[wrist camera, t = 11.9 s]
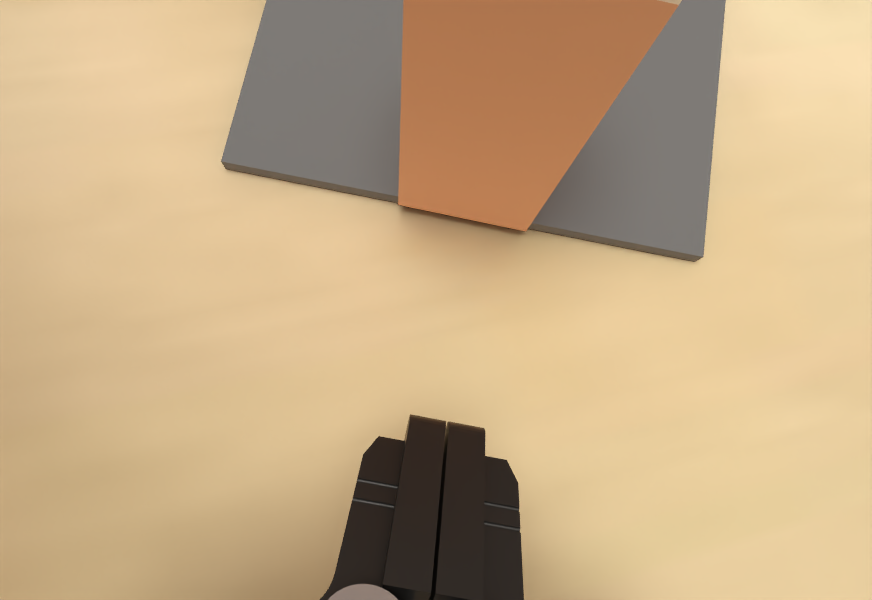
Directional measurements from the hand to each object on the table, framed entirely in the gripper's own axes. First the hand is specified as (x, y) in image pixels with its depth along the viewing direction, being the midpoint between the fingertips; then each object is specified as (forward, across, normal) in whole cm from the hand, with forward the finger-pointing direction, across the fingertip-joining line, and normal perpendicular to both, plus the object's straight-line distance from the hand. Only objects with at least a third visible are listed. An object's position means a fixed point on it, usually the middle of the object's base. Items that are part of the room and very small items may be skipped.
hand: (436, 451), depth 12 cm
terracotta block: (+12, 0, -2) cm, 12 cm away
